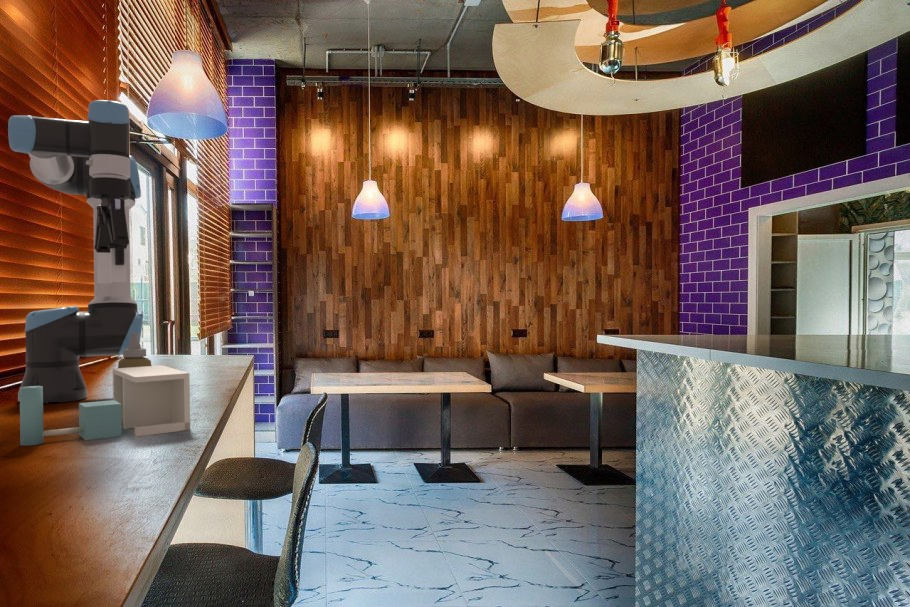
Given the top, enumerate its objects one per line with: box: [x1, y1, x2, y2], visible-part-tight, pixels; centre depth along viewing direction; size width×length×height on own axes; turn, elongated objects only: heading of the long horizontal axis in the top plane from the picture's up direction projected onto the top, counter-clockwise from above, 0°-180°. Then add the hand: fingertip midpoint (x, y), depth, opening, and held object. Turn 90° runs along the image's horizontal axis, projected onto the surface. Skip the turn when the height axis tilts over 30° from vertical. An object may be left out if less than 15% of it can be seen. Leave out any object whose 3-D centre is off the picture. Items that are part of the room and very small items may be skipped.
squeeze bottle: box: [117, 333, 152, 368], centre depth 152 cm, size 8×8×18 cm
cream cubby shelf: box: [112, 364, 191, 437], centre depth 139 cm, size 19×10×11 cm, turn 37°
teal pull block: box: [19, 386, 123, 447], centre depth 127 cm, size 6×16×10 cm, turn 128°
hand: (111, 283), depth 142 cm, fingers open, 13 cm apart
